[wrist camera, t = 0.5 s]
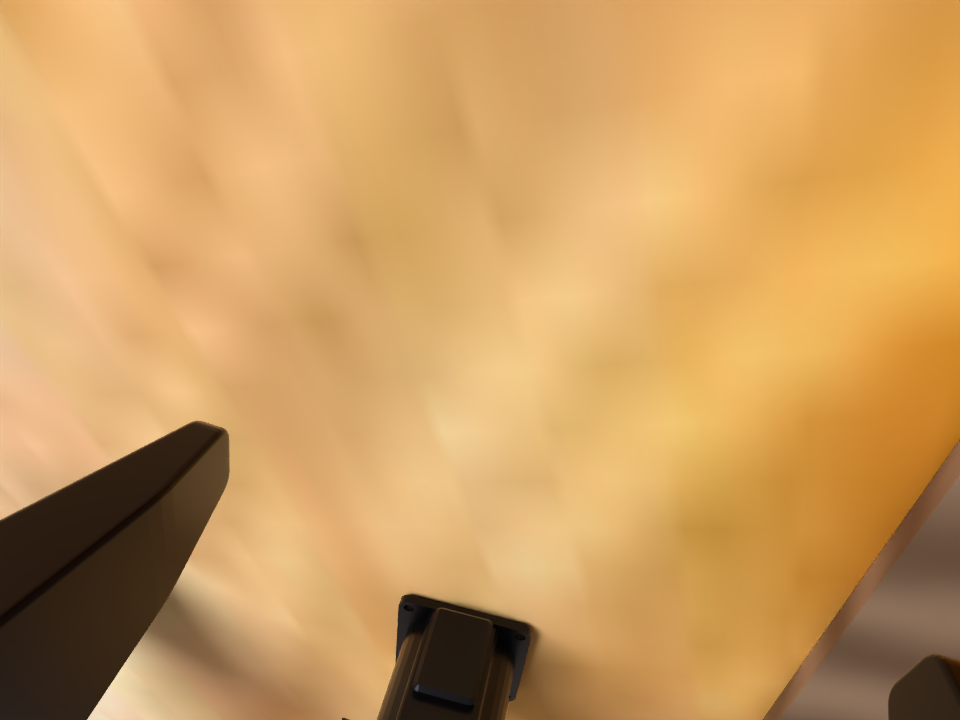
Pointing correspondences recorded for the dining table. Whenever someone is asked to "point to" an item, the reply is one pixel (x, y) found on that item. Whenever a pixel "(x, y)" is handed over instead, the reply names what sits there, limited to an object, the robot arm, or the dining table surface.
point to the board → (888, 615)
